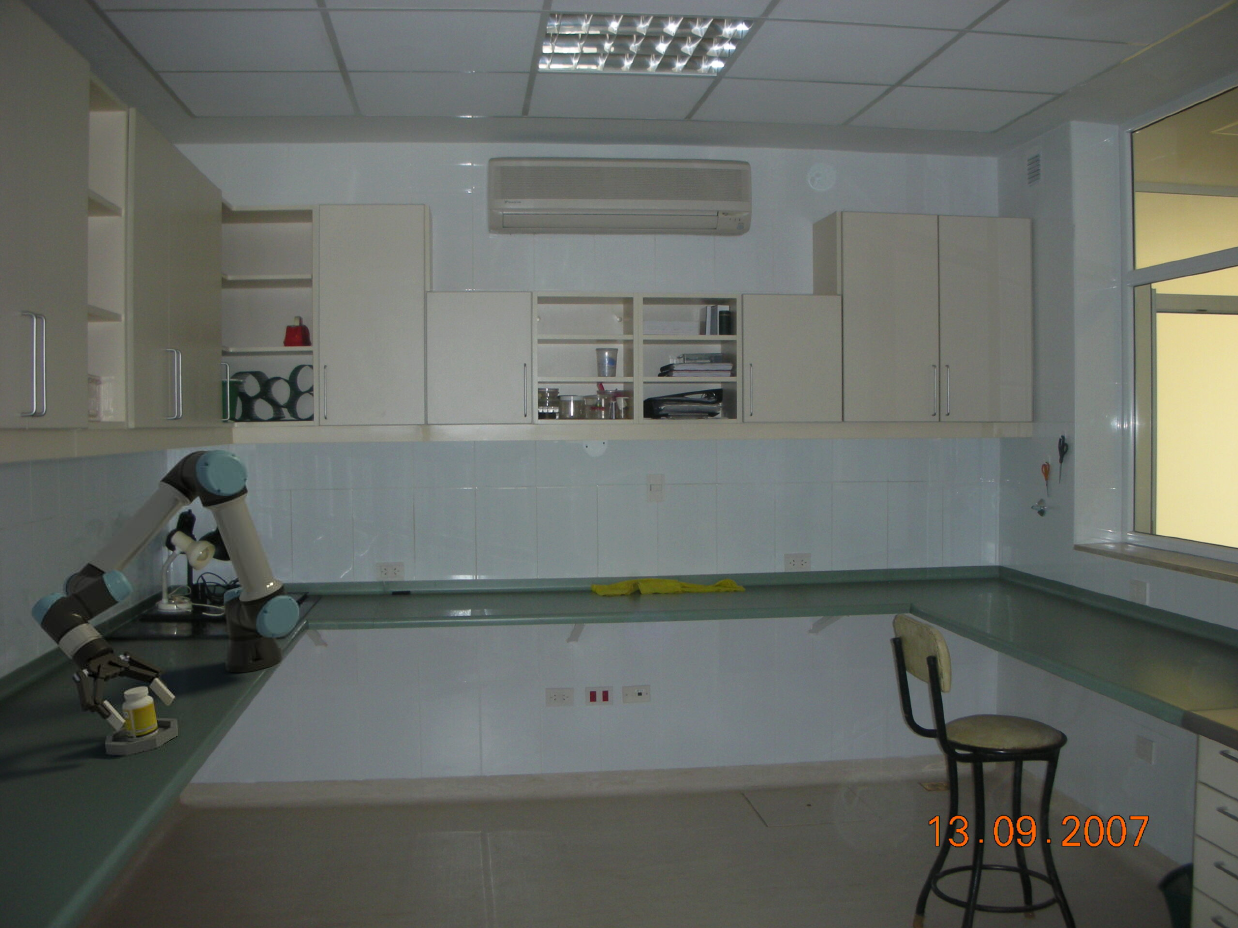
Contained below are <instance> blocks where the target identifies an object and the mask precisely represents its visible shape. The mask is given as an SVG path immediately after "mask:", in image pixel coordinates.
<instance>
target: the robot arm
mask: <svg viewBox="0 0 1238 928" xmlns="http://www.w3.org/2000/svg"><path fill="white" fill-rule="evenodd" d="M247 480H248V469H247V465H246V464H245V462H244V461H243V459H242V458H240V457H239V456H238V455H237V454H235V453H233V452H230V451H226V450H222V449H213V450H196V451H193V452H191V453H189V454H187V455H185V456H184V457H183V458H181V459H180V460H179V461H178V462H177V463H175V465H174V466H173V467H172V468H171V469H170V470H169V471H168V472H167V473H166V474H165V476H164V477H163V478H161V480H160V481H159V482H158V489H157V490H156V491H155V492H154V493H153V494H152V495H151V496H150V497H149V498H148V500H146V501H145V502H144V504H143V505H141V507H140V508H138V510H137V511H136V512H135V513H134V514H133V515H132V516H131V517H130V518H129V519H128V520H127V521H126V523H124V524H123V526H122V527H121V528H119V530H118V531H117V532H116V533H115V534H114V535H113V536H112V537H111V538H110V539H109V540H108V541H107V542H106V544H104V545H103V547H102V548H101V549H100V550H99V551H98V552H97V553H96V554H95V555H94V556H93V557H92V558H91V559H90V560H89V561H88V562H87V563H86V565H84V566H83V567H82V568H81V569H80V570H79V571H78V572H75V573H73V574H70V575H69V576H67V577H66V579H65V580H64V581H63V585H62V591H63V593H61V592H52V593H50V594H47V595H45V596H42V597H41V598H40V599H39V600H37V601H36V603H35V604H34V605H33V606H32V608H31V611H30V612H31V613H30V614H31V617H32V618H33V619H34V620H35V621H36V623H37V624H38V625H39V626H40V628H41V630H43V632H44V633H46V634H47V635H48V636H49V637H50V638H51V640H52V641H53V642H55V644H56V645H57V646H58V647H59V648H60V650H62V652H64V653H65V655H67V657H68V658H69V659H71V661H72V662H73V663H74V665H76V667H77V668H78V669H76V671H75V672H74V673H73V675H72V677H71V678H72V680H73V682H74V683H75V684H76V689H77V693H78V697H79V703H80V707H81V710H82V712H88V710H89V712H90V713H95V712H96V713H97V715H99V717H100V718H101V719H103V720H107V722H109V724H110V725H112V727H113V728H114V729H115V731H117V730H119V729H121V728H123V727H124V725H125V720H124V717H122V716H121V715H120V713H119V712H118V711H117V710H116V709H115V708H114V706H112V705H111V703H110V702H109V701H108V700H104V701H103V694H104V685H105V683H104V682H108V681H109V680H111V679H115V678H117V677H120V678H124V677H126V678H129V679H134V680H136V681H140V682H143V683H147V684H150V685H149V687H148V688H150V689H151V690H152V692H154V694H155V695H156V696H158V698H159V699H160V700H161V701H162V702H163V703H164V705H166V707H167V706H170V705H171V704H172V702H173V701H174V700H175V699H176V696H175V695H174V694H173V693H172V692H171V691H170V690H169V687H168V685H167V684H166V683H165V682H164V681H163V680H162V679H161V677H162V675H163V673H164V672H165V671H164V669H162V668H160V667H159V666H156V665H155V664H152V663H150V662H148V661H146V660H144V659H142V658H140V657H138V656H136V655H135V654H134V653H132V652H131V651H130V650H125V651H124V652H123V654H120V655H117V654H116V653H115V652H114V648H113V647H112V646H111V644H110V643H108V641H107V640H106V639H105V638H103V637H102V634H100V632H98V630H96V628H94V627H93V625H92V624H91V623H90V622H89V621H90V620H93V619H94V618H96V617H97V616H99V615H101V614H103V613H104V612H106V611H108V610H109V609H111V608H112V607H114V606H116V605H117V604H119V603H122V601H124V600H125V599H127V598H128V597H129V596H130V595H131V594H132V593H133V587H132V585H131V583H130V581H129V580H128V578H127V577H126V575H124V574H123V572H124V571H125V570H126V568H127V567H128V566H129V565H130V564H131V563H132V562H133V561H134V559H135V558H136V557H137V556H138V555H139V554H140V553H141V552H142V551H143V550H144V549H145V548H146V546H148V545H149V543H150V542H151V541H153V539H155V537H156V536H157V535H158V534H159V533H160V532H161V531H162V530H163V528H165V526H166V525H167V524H168V523H169V522H170V521H171V520H172V519H173V518H174V517H175V516H176V514H177V513H179V511H180V510H182V509H183V507H184V506H185V507H186V506H190V505H191V504H193V502H194V501H195V500H196V499H197V498H199V501H200V503H201V507H202V508H204V509H207V510H208V511H211V513H212V516H213V520H214V521H215V524H216V526H217V529H218V531H219V534H220V537H221V539H222V542H223V545H224V546H225V549H226V552H227V554H228V557H229V559H230V562H231V565H232V566H233V569H234V572H235V574H236V577H237V579H238V581H239V584H240V586H239V587H236V588H232V589H229V590H226V591H225V592H224V594H223V605H224V612H225V620H226V625H227V627H226V628H227V632H228V633H227V634H228V640H229V642H228V643H229V644H228V649H227V653H226V659H225V668H226V671H227V672H230V673H248V672H254V671H260V670H263V669H266V668H269V667H272V666H274V665H277V664H278V663H280V662H281V661H282V660H283V652H282V649H281V648H280V647H279V644H278V641H277V640H276V638H280V637H283V636H286V635H287V634H290V632H291V631H293V629H294V628H295V626H296V625H297V623H298V622H299V618H300V608H299V604H298V602H297V601H296V600H295V599H294V598H293V597H291V596H289V595H288V592H287V591H286V588H285V586H284V585H285V584H284V582H283V581H281V580H279V579H278V578H275V576H274V574H273V571H272V567H271V566H270V562H269V560H268V557H267V555H266V552H265V549H264V547H263V545H262V542H261V539H260V536H259V534H258V532H257V529H256V526H255V524H254V521H253V519H252V516H251V513H250V511H249V508H248V505H247V503H246V497H247V496H248V494H249V491H248V487H247V484H246V483H247ZM88 677H89V678H92V680H93V681H92V691H91V688H90V684H89V679H88Z"/></svg>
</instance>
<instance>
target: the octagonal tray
mask: <svg viewBox="0 0 1238 928" xmlns="http://www.w3.org/2000/svg"><path fill="white" fill-rule="evenodd" d="M156 720H157V726H158V732H157V734H156V735H154V736H153V737H150V738H146V739H142V740H138V741H129V740H128V739H127V734H126V727H125V726H122V727H121V729H119V730H115V731H112V732H110V733H109V734H107V735H106V738H105V742H104V743H105V744H104V745H105V752H106V755H110V756H114V755H115V756H127V757H128V756H131V755H135V753H136V754H139V752H140V753H143V751H144V752H147V751H152V750H155V749H154V748H156V749H158V748H160V747H162V746H164V745H165V744H164V743H165V742H167V741H169V740H170V739H172V738H174V737H176V736H178V737H179V728H178V719H177V718H164V717H156ZM169 742H170V741H169ZM163 744H164V745H163ZM161 745H162V746H161ZM159 746H160V747H159ZM157 747H158V748H157ZM151 749H152V750H151Z"/></svg>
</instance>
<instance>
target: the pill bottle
mask: <svg viewBox="0 0 1238 928" xmlns="http://www.w3.org/2000/svg"><path fill="white" fill-rule="evenodd" d="M123 695H124V696H123V697H124V700H125V701H124V702H123V703H122V707H121V708H122V715H123V719H124V720H125V723H124V727H126V734H127V739H128V740H129V741H138V740H142V739H146V738H150V737H153V736H154V735H156V734H157V732H158V726H157V720H156V718H157V715H156V710H155V709H156V708H155V703H154V702H155V701H154V698H153V697H152V696H150V695H149V687H147V686H137V687H132V688H129V689H128V690H125V691H124V692H123Z"/></svg>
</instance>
